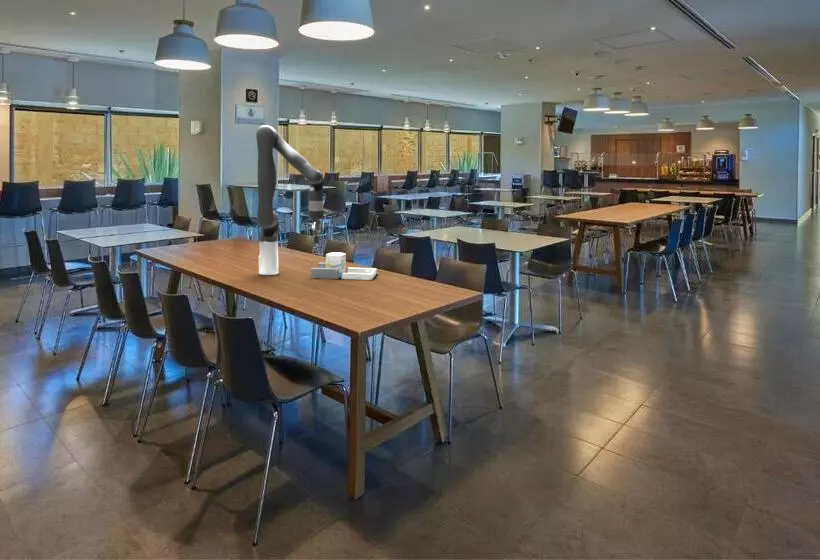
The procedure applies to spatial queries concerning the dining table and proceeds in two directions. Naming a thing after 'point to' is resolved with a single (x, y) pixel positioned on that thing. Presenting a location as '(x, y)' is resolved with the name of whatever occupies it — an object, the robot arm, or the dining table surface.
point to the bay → (324, 272)
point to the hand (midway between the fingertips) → (316, 243)
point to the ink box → (336, 262)
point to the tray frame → (359, 273)
